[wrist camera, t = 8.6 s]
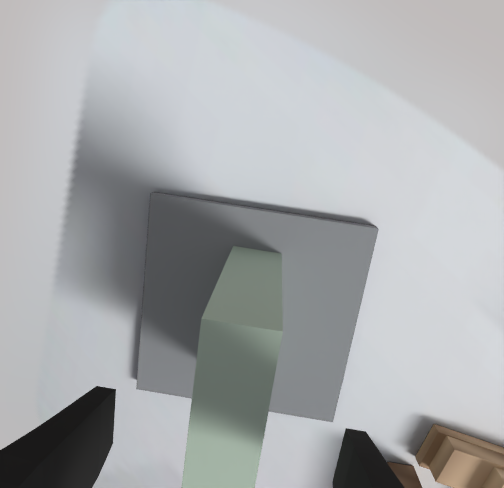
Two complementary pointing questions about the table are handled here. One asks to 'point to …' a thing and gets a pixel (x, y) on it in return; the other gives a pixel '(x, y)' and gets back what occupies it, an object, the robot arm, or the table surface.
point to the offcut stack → (461, 459)
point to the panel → (235, 372)
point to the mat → (293, 294)
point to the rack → (406, 475)
